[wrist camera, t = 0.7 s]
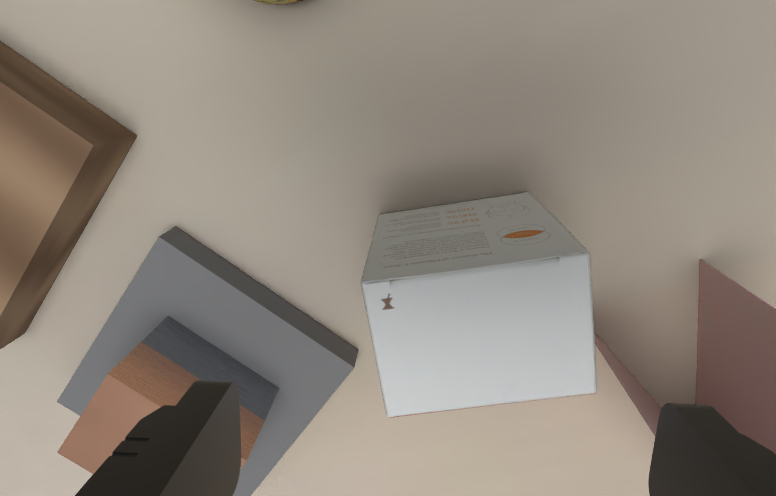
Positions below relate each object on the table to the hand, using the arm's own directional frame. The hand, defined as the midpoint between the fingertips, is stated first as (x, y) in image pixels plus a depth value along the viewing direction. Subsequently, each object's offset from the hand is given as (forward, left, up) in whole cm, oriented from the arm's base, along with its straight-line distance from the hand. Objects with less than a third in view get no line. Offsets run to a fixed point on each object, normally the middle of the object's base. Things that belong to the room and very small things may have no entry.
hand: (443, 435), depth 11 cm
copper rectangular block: (+15, -4, -17) cm, 23 cm away
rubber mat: (+15, -4, -19) cm, 25 cm away
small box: (+1, +3, -20) cm, 20 cm away
